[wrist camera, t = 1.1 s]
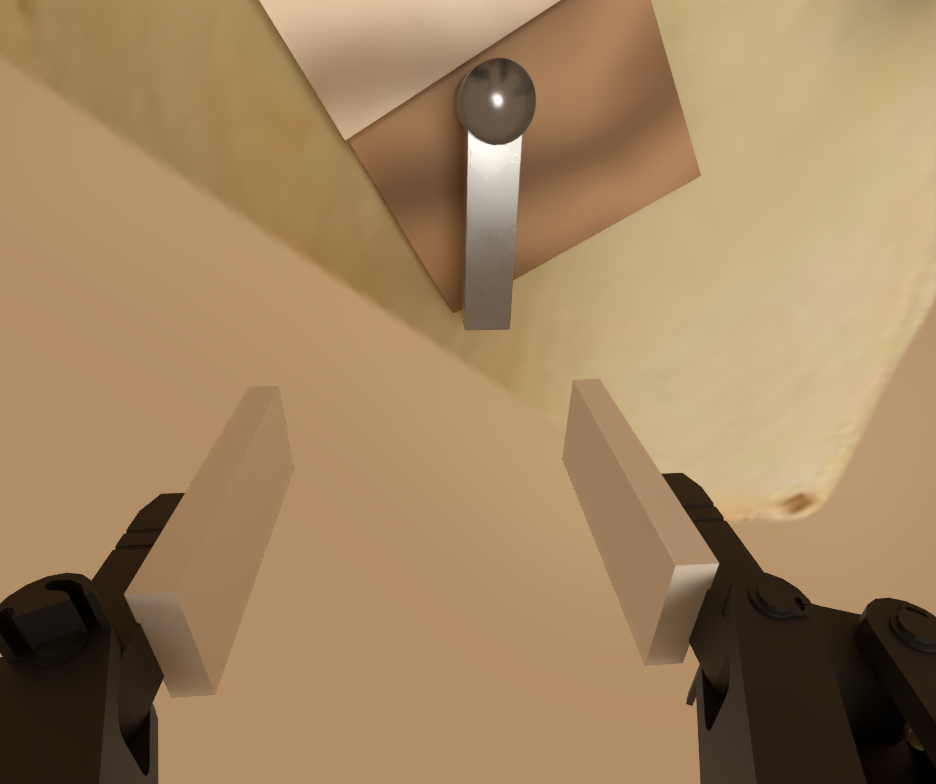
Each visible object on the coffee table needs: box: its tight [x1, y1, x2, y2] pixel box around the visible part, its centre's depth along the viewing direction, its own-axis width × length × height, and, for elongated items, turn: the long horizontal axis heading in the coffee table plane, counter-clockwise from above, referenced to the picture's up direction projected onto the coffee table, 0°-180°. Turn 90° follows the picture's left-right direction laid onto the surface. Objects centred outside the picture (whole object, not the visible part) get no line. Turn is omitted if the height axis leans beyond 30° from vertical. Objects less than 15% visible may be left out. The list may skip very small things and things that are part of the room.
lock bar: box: [454, 58, 536, 330], centre depth 26 cm, size 12×3×5 cm, turn 179°
